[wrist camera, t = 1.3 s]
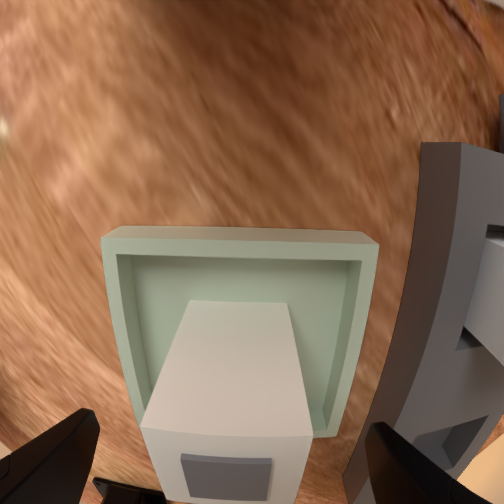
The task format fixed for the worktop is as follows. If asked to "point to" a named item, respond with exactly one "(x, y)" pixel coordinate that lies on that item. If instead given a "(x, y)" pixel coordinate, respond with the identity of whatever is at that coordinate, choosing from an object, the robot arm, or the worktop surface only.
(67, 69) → the worktop surface
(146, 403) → the tray
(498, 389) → the strip
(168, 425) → the iec plug
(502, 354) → the twin plug
